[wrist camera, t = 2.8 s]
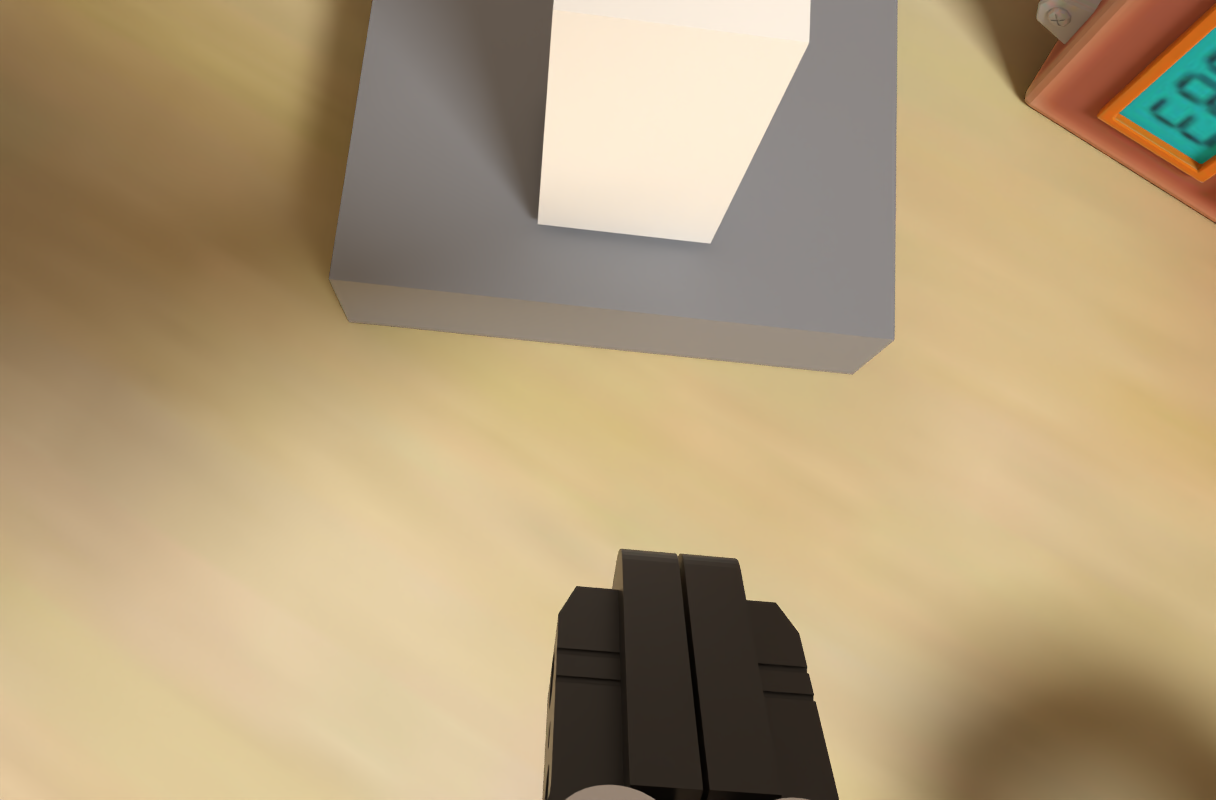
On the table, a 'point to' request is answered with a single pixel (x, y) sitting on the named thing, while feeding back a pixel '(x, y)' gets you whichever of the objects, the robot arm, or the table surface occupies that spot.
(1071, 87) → the control panel
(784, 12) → the fader tab
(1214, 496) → the table surface
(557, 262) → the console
